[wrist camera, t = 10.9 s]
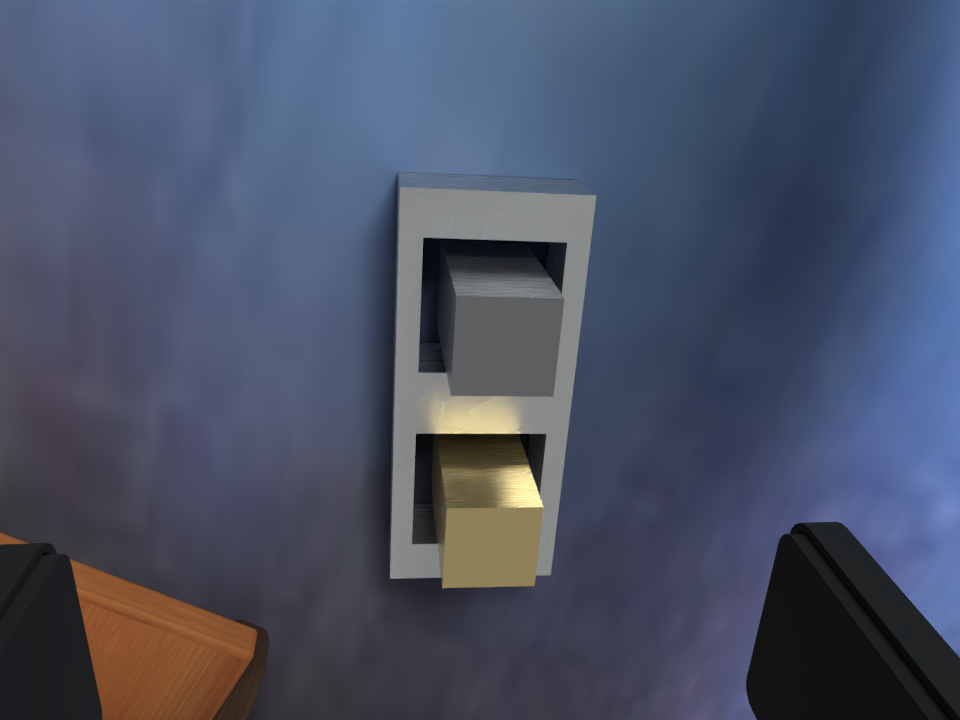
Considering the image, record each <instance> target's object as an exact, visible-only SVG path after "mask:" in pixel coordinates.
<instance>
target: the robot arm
mask: <svg viewBox="0 0 960 720" xmlns="http://www.w3.org/2000/svg"><path fill="white" fill-rule="evenodd" d="M746 690H747V696H748V700H749V704H750V706H751V708H752V711H753V713H754V714H755V716H756V718H757V720H960V658H959V657H958V655H957V654H956V653H955V652H954V651H953V650H952V649H951V647H950V646H949V645H948V644H947V643H946V642H945V640H944V639H943V638H942V637H941V636H940V635H939V634H938V632H937V631H936V630H935V629H934V628H933V627H932V625H931V624H930V623H929V622H928V621H927V620H926V619H925V617H924V616H923V615H922V614H921V613H920V612H919V611H918V609H917V608H916V607H915V606H914V605H913V604H912V602H911V601H910V600H909V599H908V598H907V597H906V596H905V594H904V593H903V592H902V591H901V590H900V589H899V587H898V586H897V585H896V584H895V583H894V582H893V581H892V579H891V578H890V577H889V576H888V575H887V574H886V572H885V571H884V570H883V569H882V568H881V567H880V566H879V564H878V563H877V562H876V561H875V560H874V559H873V557H872V556H871V555H870V554H869V553H868V552H867V551H866V549H865V548H864V547H863V546H862V545H861V544H860V542H859V541H858V540H857V539H856V538H855V537H854V536H853V534H852V533H851V532H850V531H849V530H848V529H847V528H846V527H845V526H844V525H843V524H842V523H838V522H816V523H798V524H795V525H794V527H793V528H792V529H791V532H790V534H785V535H783V536H782V537H781V538H780V541H779V544H778V548H777V552H776V556H775V560H774V565H773V569H772V573H771V577H770V582H769V586H768V590H767V594H766V599H765V603H764V607H763V611H762V616H761V620H760V624H759V628H758V633H757V637H756V641H755V645H754V649H753V654H752V658H751V662H750V666H749V671H748V675H747V681H746ZM0 720H102V707H101V702H100V697H99V693H98V688H97V683H96V678H95V674H94V669H93V664H92V659H91V655H90V650H89V645H88V640H87V636H86V631H85V626H84V621H83V617H82V612H81V607H80V602H79V598H78V593H77V588H76V583H75V579H74V574H73V569H72V564H71V561H70V559H69V557H68V556H67V555H64V554H60V555H57V553H56V550H55V548H54V547H53V546H52V544H49V543H30V544H2V545H0Z"/></svg>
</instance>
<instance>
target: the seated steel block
mask: <svg viewBox="0 0 960 720" xmlns="http://www.w3.org/2000/svg"><path fill="white" fill-rule="evenodd" d="M563 308H564V297H563V296H562V294H561V293H560V291H559V290H558V288H557V287H556V285H555V284H554V282H553V281H552V279H551V278H550V277H549V275H548V274H547V272H546V271H545V269H544V268H543V266H542V265H541V263H540V262H539V260H538V259H537V257H536V256H535V254H534V253H533V251H532V250H531V249H530V247H529V246H528V244H520V243H492V242H465V241H441V245H440V266H439V286H438V307H437V327H438V333H439V338H440V343H441V348H442V353H443V358H444V364H445V369H446V374H447V379H448V384H449V390H450V395H451V396H519V397H554V388H555V379H556V370H557V361H558V352H559V344H560V335H561V326H562V317H563Z"/></svg>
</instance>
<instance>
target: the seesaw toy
mask: <svg viewBox="0 0 960 720" xmlns="http://www.w3.org/2000/svg"><path fill="white" fill-rule="evenodd" d="M2 544H30V543H27V542H25V541H22V540H20V539H17V538H14V537H12V536H9V535H6V534H4V533H1V532H0V545H2ZM57 555H59V554H57ZM69 559H70V558H69ZM70 561H71V564H72V569H73V574H74V579H75V583H76V588H77V593H78V598H79V602H80V607H81V612H82V617H83V621H84V626H85V631H86V636H87V640H88V645H89V650H90V655H91V659H92V664H93V669H94V674H95V678H96V683H97V688H98V693H99V697H100V702H101V707H102V720H247V719H248V716H249V714H250V711H251V708H252V706H253V703H254V700H255V697H256V694H257V691H258V688H259V685H260V682H261V679H262V675H263V671H264V667H265V663H266V658H267V652H268V634H267V631H266V630H265V629H264V628H261V627H259V626H256V625H254V624H251V623H248V622H246V621H243V620H237V621H233V620H231V619H228V618H225V617H223V616H220V615H217V614H215V613H212V612H210V611H207V610H204V609H202V608H199V607H196V606H194V605H191V604H188V603H186V602H183V601H180V600H178V599H175V598H173V597H170V596H167V595H165V594H162V593H159V592H157V591H154V590H151V589H149V588H146V587H144V586H141V585H138V584H136V583H133V582H130V581H128V580H125V579H122V578H120V577H117V576H115V575H112V574H109V573H107V572H104V571H101V570H99V569H96V568H93V567H91V566H88V565H85V564H83V563H80V562H78V561H75V560H72V559H70Z"/></svg>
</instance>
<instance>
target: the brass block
mask: <svg viewBox="0 0 960 720" xmlns="http://www.w3.org/2000/svg"><path fill="white" fill-rule="evenodd" d="M431 490H432V499H433V508H434V517H435V527H436V536H437V545H438V554H439V563H440V572H441V582H442V588H468V587H512V586H535V578H536V569H537V560H538V551H539V543H540V534H541V525H542V516H543V504H542V501H541V498H540V496H539V493H538V490H537V487H536V484H535V481H534V478H533V475H532V472H531V469H530V466H529V463H528V460H527V457H526V454H525V451H524V448H523V445H522V442H521V439H520V436H519V434H434V439H433V460H432V481H431Z"/></svg>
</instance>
